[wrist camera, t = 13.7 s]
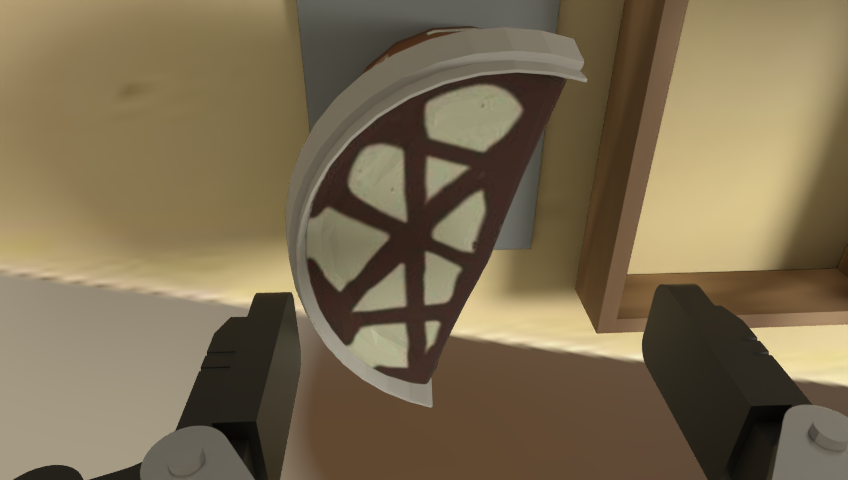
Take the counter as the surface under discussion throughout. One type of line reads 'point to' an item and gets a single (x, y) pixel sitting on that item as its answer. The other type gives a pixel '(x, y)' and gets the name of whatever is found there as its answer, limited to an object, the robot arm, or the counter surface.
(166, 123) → the counter surface
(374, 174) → the food container
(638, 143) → the frame
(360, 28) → the rubber mat
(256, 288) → the counter surface
